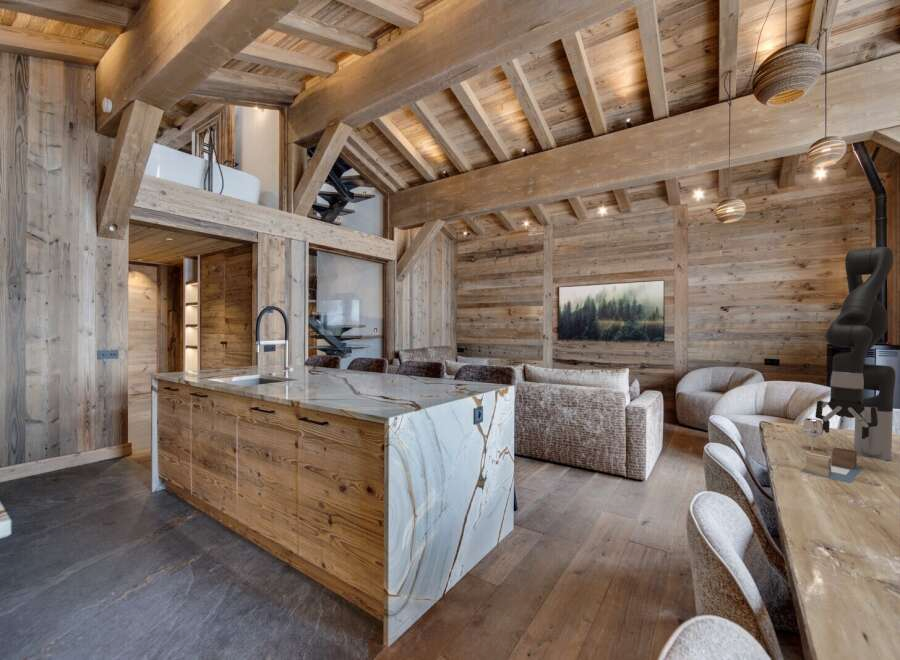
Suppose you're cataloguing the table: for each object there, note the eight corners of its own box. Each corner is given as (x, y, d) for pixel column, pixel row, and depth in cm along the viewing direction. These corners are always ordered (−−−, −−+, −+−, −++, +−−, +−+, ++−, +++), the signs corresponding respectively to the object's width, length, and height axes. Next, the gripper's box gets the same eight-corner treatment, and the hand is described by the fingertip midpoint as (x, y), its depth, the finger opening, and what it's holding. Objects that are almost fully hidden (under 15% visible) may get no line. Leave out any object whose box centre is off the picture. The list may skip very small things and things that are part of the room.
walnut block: (835, 462, 132) (835, 447, 132) (856, 466, 128) (856, 451, 128) (831, 464, 129) (832, 449, 129) (853, 469, 125) (854, 453, 125)
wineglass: (827, 455, 143) (828, 422, 143) (808, 453, 144) (809, 421, 144) (815, 450, 148) (816, 418, 148) (798, 448, 150) (799, 417, 149)
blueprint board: (817, 460, 136) (817, 457, 136) (863, 470, 128) (863, 466, 128) (800, 474, 123) (800, 471, 123) (850, 486, 114) (850, 482, 114)
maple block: (809, 468, 125) (810, 452, 125) (831, 473, 121) (831, 457, 121) (805, 471, 122) (806, 455, 122) (827, 476, 118) (828, 460, 118)
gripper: (880, 388, 125) (878, 439, 125) (819, 382, 136) (818, 429, 136) (877, 389, 120) (875, 442, 120) (814, 383, 132) (813, 431, 132)
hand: (844, 435), depth 128 cm, fingers open, 8 cm apart
